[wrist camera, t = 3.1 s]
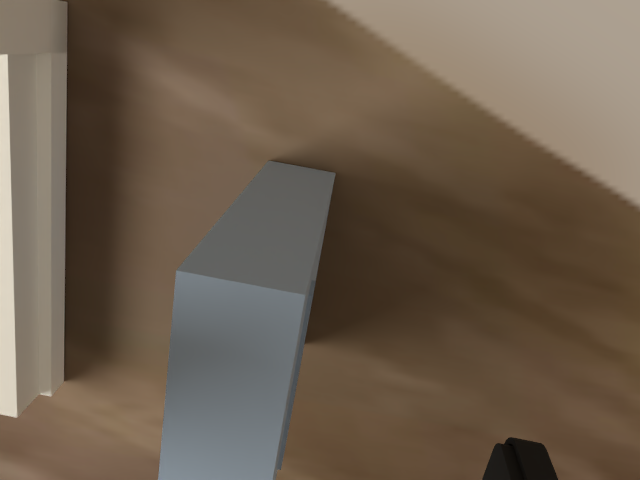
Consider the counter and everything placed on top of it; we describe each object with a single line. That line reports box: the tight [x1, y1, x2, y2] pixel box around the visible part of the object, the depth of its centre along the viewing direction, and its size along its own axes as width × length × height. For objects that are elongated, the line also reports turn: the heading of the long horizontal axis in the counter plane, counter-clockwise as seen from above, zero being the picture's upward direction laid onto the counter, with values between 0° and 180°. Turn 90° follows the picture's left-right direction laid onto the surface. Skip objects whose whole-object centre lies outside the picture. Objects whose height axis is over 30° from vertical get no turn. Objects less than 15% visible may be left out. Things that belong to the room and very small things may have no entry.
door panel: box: [158, 161, 336, 480], centre depth 16 cm, size 7×3×10 cm, turn 170°
